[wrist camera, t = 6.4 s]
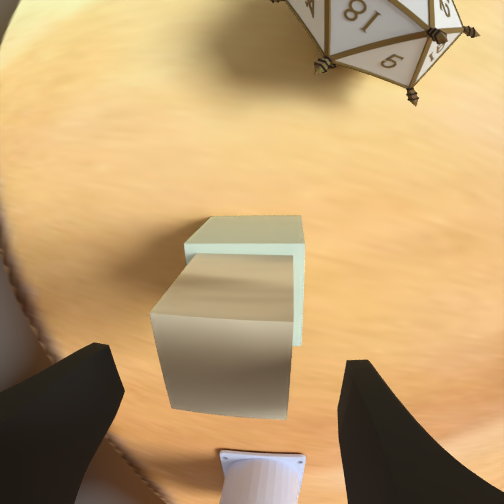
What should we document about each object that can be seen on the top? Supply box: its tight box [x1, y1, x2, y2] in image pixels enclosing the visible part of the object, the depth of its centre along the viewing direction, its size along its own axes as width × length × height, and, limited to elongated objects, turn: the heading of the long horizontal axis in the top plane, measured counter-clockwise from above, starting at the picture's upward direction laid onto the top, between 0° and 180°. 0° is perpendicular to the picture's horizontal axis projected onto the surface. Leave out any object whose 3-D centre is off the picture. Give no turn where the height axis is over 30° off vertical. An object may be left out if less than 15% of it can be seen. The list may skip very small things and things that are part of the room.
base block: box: [184, 216, 305, 346], centre depth 16 cm, size 5×5×5 cm
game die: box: [270, 0, 480, 106], centre depth 9 cm, size 9×8×10 cm
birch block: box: [150, 253, 294, 420], centre depth 11 cm, size 4×4×5 cm
